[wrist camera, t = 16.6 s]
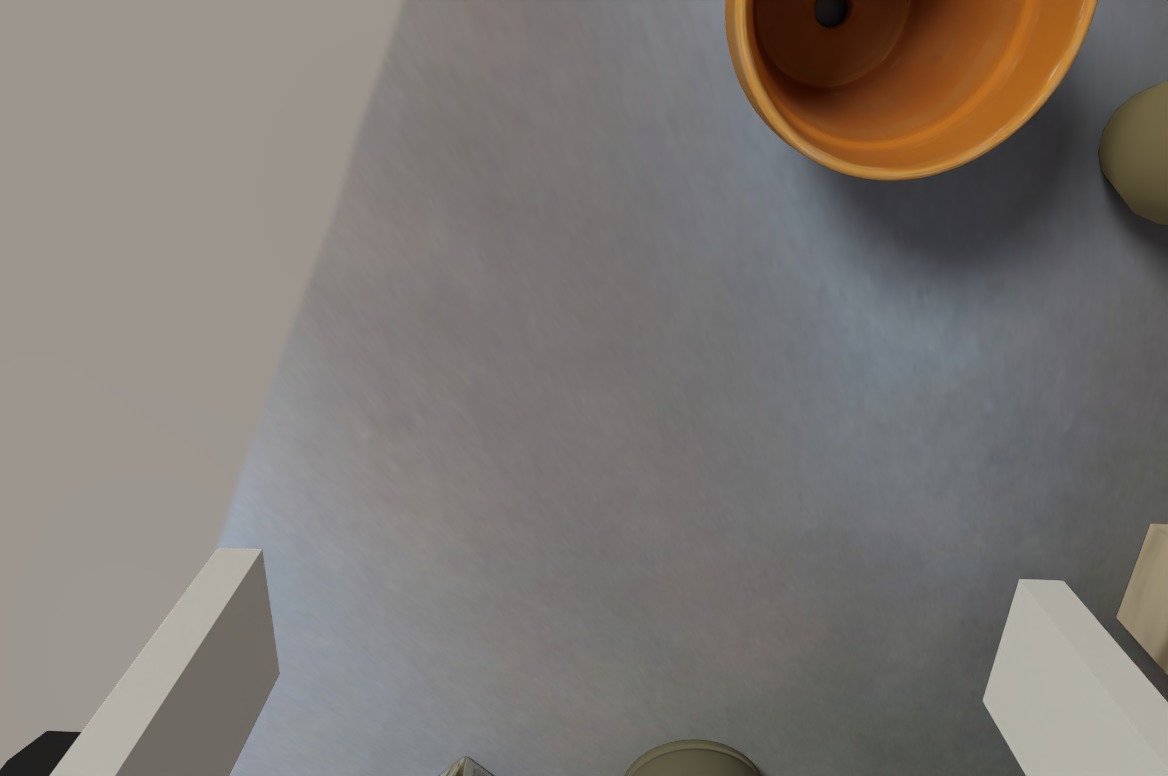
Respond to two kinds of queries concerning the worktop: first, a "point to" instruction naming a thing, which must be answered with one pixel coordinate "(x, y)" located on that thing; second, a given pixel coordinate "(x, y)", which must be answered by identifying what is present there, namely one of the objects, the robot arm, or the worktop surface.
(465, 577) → the worktop surface
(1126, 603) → the stand
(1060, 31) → the flower pot
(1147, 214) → the squeeze bottle
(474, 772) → the coffee box
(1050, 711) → the robot arm
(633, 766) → the can
